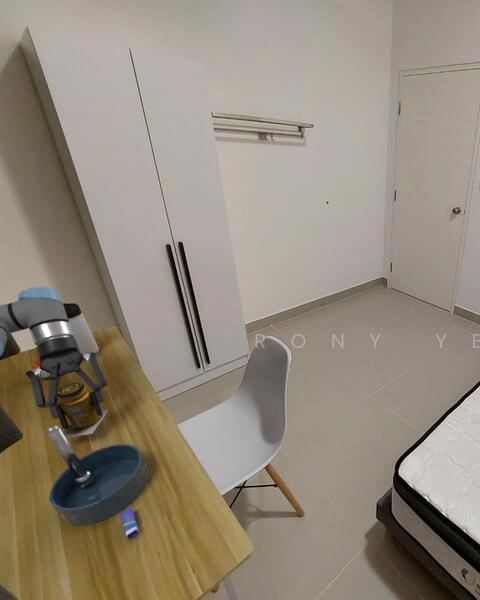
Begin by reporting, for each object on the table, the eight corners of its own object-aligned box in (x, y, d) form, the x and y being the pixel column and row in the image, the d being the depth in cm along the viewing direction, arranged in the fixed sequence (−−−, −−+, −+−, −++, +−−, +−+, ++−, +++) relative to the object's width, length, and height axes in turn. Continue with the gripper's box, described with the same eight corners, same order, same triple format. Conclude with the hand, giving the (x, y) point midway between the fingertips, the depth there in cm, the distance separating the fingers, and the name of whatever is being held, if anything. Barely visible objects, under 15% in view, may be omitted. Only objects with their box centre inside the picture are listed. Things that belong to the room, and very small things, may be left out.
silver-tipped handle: (100, 477, 79) (67, 421, 70) (86, 492, 76) (49, 435, 67) (87, 475, 79) (52, 419, 70) (72, 489, 76) (33, 432, 67)
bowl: (41, 530, 70) (27, 514, 67) (93, 461, 84) (84, 446, 81) (123, 522, 72) (114, 506, 69) (161, 457, 86) (154, 441, 83)
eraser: (128, 540, 69) (125, 535, 68) (123, 518, 72) (120, 513, 71) (139, 533, 70) (136, 528, 69) (134, 512, 74) (131, 507, 73)
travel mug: (94, 346, 124) (73, 300, 115) (102, 352, 121) (81, 305, 112) (73, 354, 119) (49, 307, 110) (81, 361, 116) (57, 313, 107)
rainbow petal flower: (36, 369, 111) (26, 352, 108) (74, 358, 118) (66, 341, 114) (37, 382, 106) (26, 365, 103) (76, 370, 112) (68, 353, 109)
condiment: (109, 409, 93) (92, 377, 88) (92, 434, 86) (74, 400, 80) (78, 413, 91) (59, 381, 86) (59, 438, 84) (37, 405, 79)
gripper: (103, 333, 97) (130, 405, 94) (9, 358, 85) (37, 441, 82) (98, 326, 91) (127, 402, 88) (-4, 352, 79) (26, 441, 76)
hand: (83, 421), depth 85 cm, fingers closed on condiment, 6 cm apart
